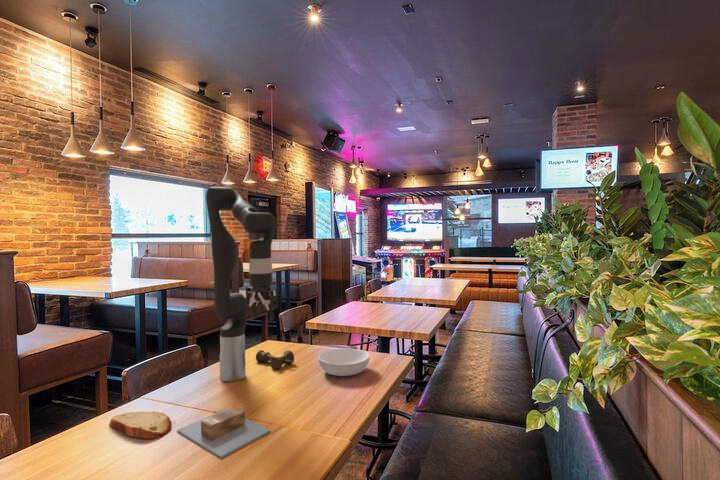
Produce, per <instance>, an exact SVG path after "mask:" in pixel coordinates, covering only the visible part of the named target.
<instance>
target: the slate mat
mask: <svg viewBox="0 0 720 480" xmlns="http://www.w3.org/2000/svg"><path fill="white" fill-rule="evenodd" d="M226 410H228V409H227V408H224V409H222V410H219V411H218V412H215V413H212V414H211V415H208V416H206V417H203V418H201V419H199V420H197V421H194V422H192V423H189V424H188V425H186V426H183V427H180V428H178V429H177V431H176V432H177V433H179V434H180V435H181V436H184V437H186V439H189V440H190V441H192V442H193V443H195V444H197V445H198V446H200V447H201V448H203V449H204V450H206V451H208V452H210V453H211V454H213V455H214V456H216V457H218V458H219V459H223V458H226V457H227V456H228V455H229V456H230V455H231V454H232V453H234V452H235V451H238V450H240V449H242V448H244V447H245V446H248V444H251V443H252V442H254V441H256V440H259V439H260V438H262V437H263V436H265V435H267V434H269V433H271V429H269V428H267V427H266V426H264V425H261V424H259V423H257V422H254V421H253V420H251V419H249V418H246V417H245V425H243V426H241V427H239V428H237V429H235V430H233V431H231V432H229V433H227V434H225V435H223V436H221V437H219V438H217V439H214V440H212V441H210V440H208V439H207V438H205V437H203V436H202V435H201V421H203V420H205V419H207V418H209V417H212V416H215V415H217V414H219V413H222V412H224V411H226Z"/></svg>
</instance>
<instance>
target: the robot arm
mask: <svg viewBox="0 0 720 480" xmlns="http://www.w3.org/2000/svg"><path fill="white" fill-rule="evenodd" d="M205 197H206V198H205V201H206V208H207V214H208V220H209V227H210V238H211V239H210V240H211V241H210V242H211V255H212V262H213V263H212V264H213V277H214V289H213V290H214V294H213V297H214V298H213V300H214V303H213V306H214V312H215V314H216V316H217V318H218V319H220V320H227V322H225V324H224V325H222V326H221V327H220V329H219V343H220V345H219V347H220V352H219V377H220V380H221V381H223V382H227V383H228V382H232V383H233V382H237V381H241V380H244V379H245V378H246V373H247V372H246V339H245V338H246V337H245V335H246V334H245V332H246V331H245V330H246V328H247V313H248V307H249V308H250V309H249V311H250V314H249V315H250V318H251V319H254V318H255V319H256V318H257V317H258V306H257V305H258V303H259V302H260V303H262V305H264V307H265V308H266V321H267V322H271V321H273V320H274V317H275V316H274V315H275V314H274V312H275V309H277V308H279V299H278V298H279V296H278V290H277V289H271V286H272V285H273V261H272V243H273V238H274V235H275V232H276V225H277V223H276V222H277V221H276V218H275V216H274V215H273V213H271V212H259V210H258V209H257V208H256V207H254V206H253V205H251V204H250V203H248V202H246V201H245V200H244V198H243V197H242V196H241V195H240V194H239V192H238V191H237V190H235V189H234V188H232V187H229V186H210V187H208V188H207V190H206V194H205ZM220 211H231V212H232V215H233V217H234V218H235V219H236V221H238V222H240V224H242V227H243V228H244V231H245V232H247V233H249V234H261V236H260V238H259V239H257V240H253V241H251V242H250V243H249V265H248V266H249V267H248V273H249V274H248V278H249V286H248V287H245V295H243V293H242V292H241V293H240V292H234V293H231V292H230V291H231V290H230V284H231V283H230V282H231V278H232V276H233V273H234V271H235V269H236V266H237V264H238V248H237V247H238V246H237V241H236V240H235V239H234V237H233V235H232V234H231V233H230V231H229V230H228V229H227V227H226V226H225V224H224V223H223V220H222V218H221V213H220ZM247 305H248V306H247Z"/></svg>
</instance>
